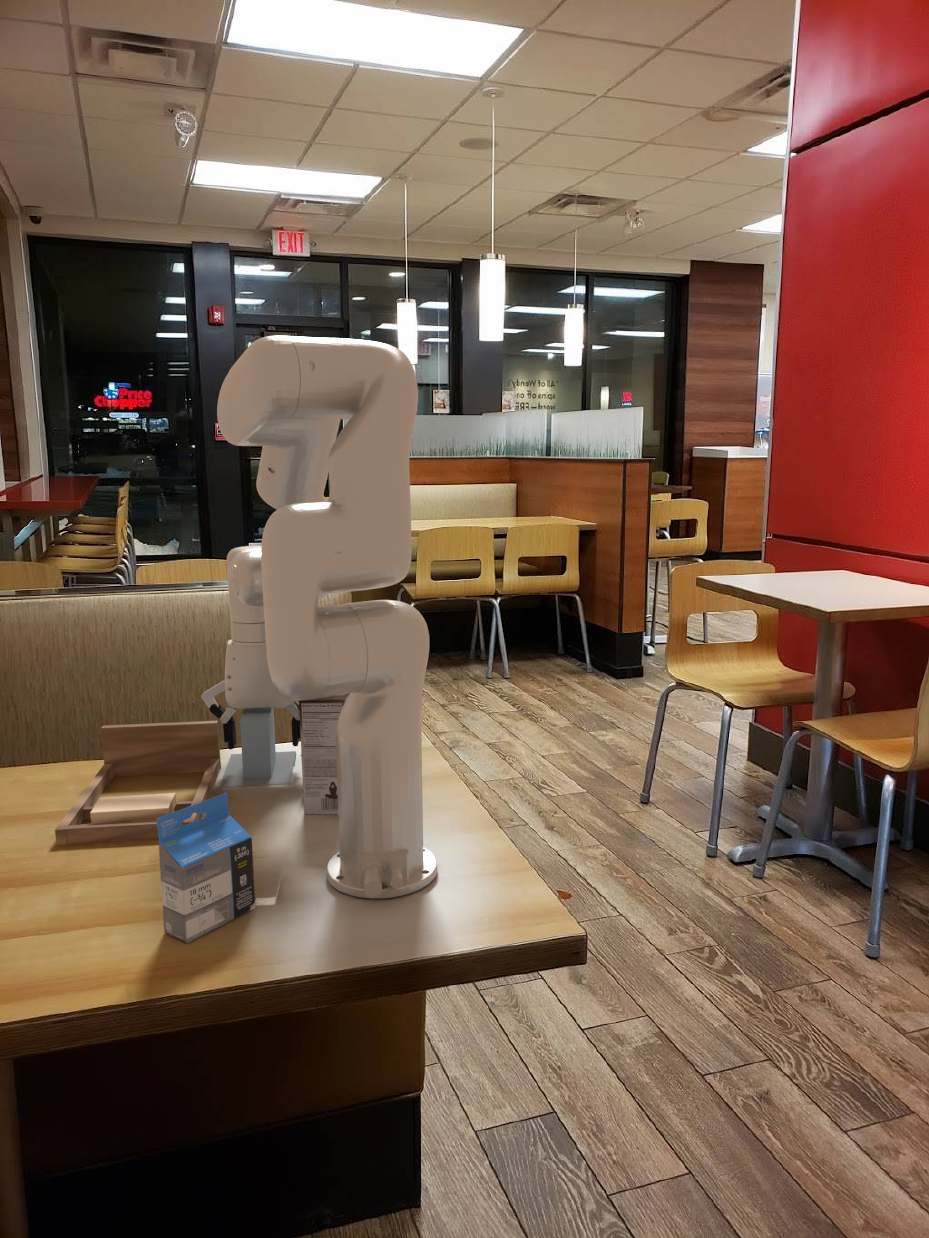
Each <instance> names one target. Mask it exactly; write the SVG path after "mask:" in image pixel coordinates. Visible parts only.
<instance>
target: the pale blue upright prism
mask: <svg viewBox="0 0 929 1238" xmlns="http://www.w3.org/2000/svg"><path fill="white" fill-rule="evenodd" d="M274 714H275V713H274V708H268V709H244V710H242V714H241V715H240V719H239V726H240V727H239V728H240V742H241V754H242V763H243V779H251V778H271V777H272V773H273V769H274V764H275V760H276V752H277V751H276V737H275V735H276V733H275V716H274Z"/></svg>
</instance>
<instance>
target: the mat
mask: <svg viewBox="0 0 929 1238" xmlns="http://www.w3.org/2000/svg"><path fill="white" fill-rule="evenodd" d="M296 759H297V751H296V750H295V751H294V750H293V751H292V750H291V751H276V760H275V764H274V769H273V773H272V777H271V778H251V779H243V763H242V753H233V754H230V757H229V759H228V762H227V764H226V768H225V770H224V774H223V775H222V777H221V781H220V784H219V787H218V788H219V789H222V788H223V789H225V788H226V789H227V788H241V787H242V788H243V787H245V788H247V787H261V786H262V787H263V786H280V785H281V786H282V785H283V786H284V785H291V784H292V779H293V778H292V777H293V772H294V767H295V766H296V765H295V764H296Z"/></svg>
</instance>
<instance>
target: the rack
mask: <svg viewBox="0 0 929 1238" xmlns="http://www.w3.org/2000/svg"><path fill="white" fill-rule="evenodd" d="M100 731H101V732H100V733H101V743H102V753H103V754H102V755H103V765H102V766H101V768H100V769H99V770H98V772H97V773H96V774H95V776H94V777H93V778H92V780H91V781H90V782H89V784H88V785H87V786H86V788H85V790H84V789H83V792H82V793H81V794H80V796H79V797H78V798H77V800H75V803H74V804H73V805H72V806H71V808H70V809H69V810H68V812H67V813H66V814H65V816H64V817H63V818H62V820H61V821H60V822H59V824H58V825H57V826H56V828H55V829H54V833H55V834H54V835H55V842H56V843H55V844H56V846H57V845H58V846H60V845H70V844H71V845H72V844H85V843H87V844H88V843H104V842H119V841H122V842H123V841H135V840H136V841H137V840H138V841H139V840H153V839H158V840H159V836H158V828H157V821H140V822H122V823H104V824H91V823H89V824H87V823H86V824H82V823H83V822H84V820H85V821H86V820H88V821H89V820H90V821H91V815H90V812H91V811H92V809H93V808H94V806H95V805H96V803H97V802H98V800H99V799H100V798H101V795H102V794H103V793H104V791H105V790H106V788H107V787H108V786H109V784H110V783H111V781H112V780H113V778H114V777H124V776H125V777H129V776H142V775H143V776H145V775H147V776H148V775H161V774H162V775H166V774H167V775H168V774H187V773H189V774H190V773H204V774H203V776H202V779H201V781H200V783H199V786H198V787H197V790H196V792H195V794H194V797H193V800H188V801H186V800H185V801H176V806H175V808H174V812H176V811H178V810H181V809H184V808H187V807H189V806H192V805H195V804H197V803H200V802H203V801H206V800H208V799H211V795H212V792H213V790H214V787H215V785H216V782H217V780H218V777H219V775H220V772H221V769H222V764H221V748H220V737H219V736H220V734H219V733H220V732H219V720H204V721H203V720H202V721H201V720H200V721H179V722H178V721H177V722H155V723H154V722H153V723H133V724H110V725H108V724H107V725H106V724H105V725H102V726H101V727H100ZM204 813H205V812H204ZM204 813H201V814H197V813H193V814H192V816H191V817H190V818H188V819H186V820H184V821H183V825H187V824H189V823H192V822H195V821H197V820H200V819H202V818H203V817H204Z"/></svg>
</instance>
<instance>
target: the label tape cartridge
mask: <svg viewBox="0 0 929 1238" xmlns="http://www.w3.org/2000/svg"><path fill="white" fill-rule="evenodd" d="M228 799H229V798H228V792H224V793H222V794H219V795H217V796H214V797H212V798H211V797H210V798H209V799H208V800H206V801H203V802H200V803H197V804H195V805H192V806H189V807H187V808H184V809H181V810H178V811H176V812H173V813H170V814H168V815H165V816H162V817H160V818H157V819H156V821H157V828H158V836H159V838H158V851H159V852H158V854H159V870H160V871H159V872H160V873H159V874H160V886H161V902H162V914H163V915H162V918H163V931H164V933H165V934H166V935H168V936H170V937H172V938H175V939H176V940H179V941H181V942H182V943H185V944H189V943H191V942H192V941H194V940H197V939H198V938H200V937H202V936H204V935H206V934H208V933H210V932H212V931H213V930H216V929H218V928H219V927H222V926H224V925H226V924H227V923H229V922H231V921H233V920H235V919H237V918H239V917H240V916H243V915H245V914H247V913H249V912H251V911H253V910H255V909H256V893H255V876H254V873H255V872H254V858H253V856H254V855H253V853H254V851H253V838H252V836H251V835H250V834H249V832H248V831H246V830H245V829H244V828H243V827H242V826H241V825H240V824H239V823H238V822H237V820H235V819H234V818H233V816H231V814H230V812H229V811H230V810H229V801H228ZM193 813H197V814H201V813H205V816H204V817H202V819H200V820H197V821H195V822H192V823H189V824H187V825H183V821H184V820H186V819H188V818H190V817H191V816H192V814H193Z"/></svg>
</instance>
